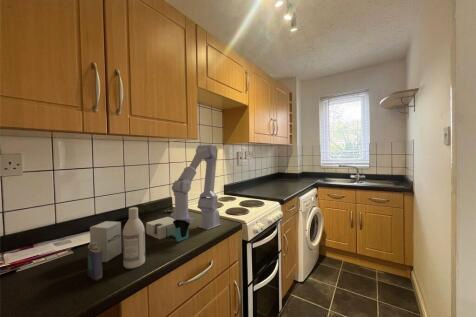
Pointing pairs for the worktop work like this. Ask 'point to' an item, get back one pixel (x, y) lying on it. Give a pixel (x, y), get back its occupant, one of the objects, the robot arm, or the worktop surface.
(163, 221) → the housing
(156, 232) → the plunger
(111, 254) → the supplement box
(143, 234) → the bath foam
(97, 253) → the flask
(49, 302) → the worktop surface
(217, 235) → the worktop surface
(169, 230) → the cartridge
